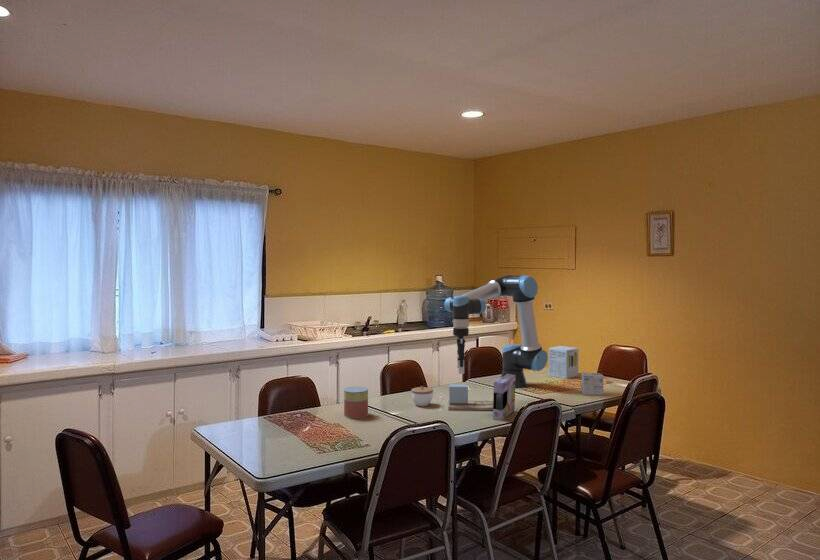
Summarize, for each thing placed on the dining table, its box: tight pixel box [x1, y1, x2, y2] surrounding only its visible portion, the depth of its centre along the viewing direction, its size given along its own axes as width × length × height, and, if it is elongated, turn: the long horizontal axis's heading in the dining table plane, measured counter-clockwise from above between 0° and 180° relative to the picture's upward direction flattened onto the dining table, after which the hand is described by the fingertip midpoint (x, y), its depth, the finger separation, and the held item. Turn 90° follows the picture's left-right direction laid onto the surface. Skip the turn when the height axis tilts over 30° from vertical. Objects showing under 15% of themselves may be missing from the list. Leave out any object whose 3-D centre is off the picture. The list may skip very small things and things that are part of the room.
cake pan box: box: [492, 374, 516, 421], centre depth 268 cm, size 19×5×18 cm, turn 151°
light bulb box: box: [581, 372, 605, 396], centre depth 310 cm, size 11×7×11 cm, turn 84°
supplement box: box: [548, 345, 579, 380], centre depth 357 cm, size 13×13×18 cm
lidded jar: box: [410, 385, 434, 407], centre depth 288 cm, size 11×11×9 cm
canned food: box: [343, 386, 369, 419], centre depth 270 cm, size 11×11×12 cm
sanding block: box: [448, 383, 469, 405], centre depth 284 cm, size 5×9×9 cm, turn 86°
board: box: [447, 400, 493, 411], centre depth 283 cm, size 13×26×2 cm, turn 86°
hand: (460, 370), depth 282 cm, fingers open, 13 cm apart
